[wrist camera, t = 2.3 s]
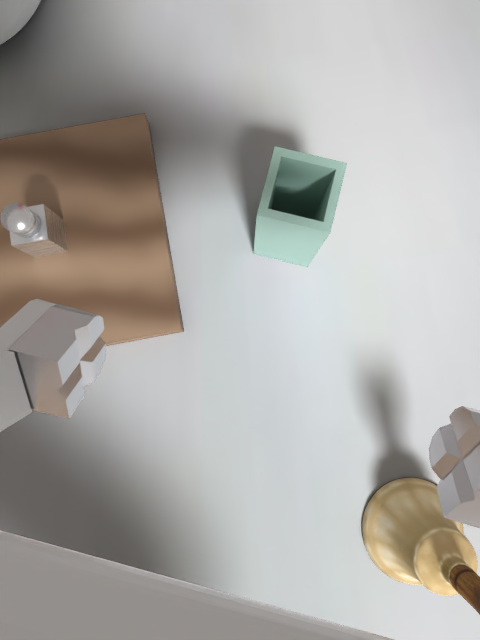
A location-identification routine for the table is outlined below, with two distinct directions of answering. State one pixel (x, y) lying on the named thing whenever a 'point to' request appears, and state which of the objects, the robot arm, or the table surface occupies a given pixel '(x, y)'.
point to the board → (93, 227)
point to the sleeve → (297, 206)
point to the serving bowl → (15, 16)
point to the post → (34, 229)
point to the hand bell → (420, 540)
